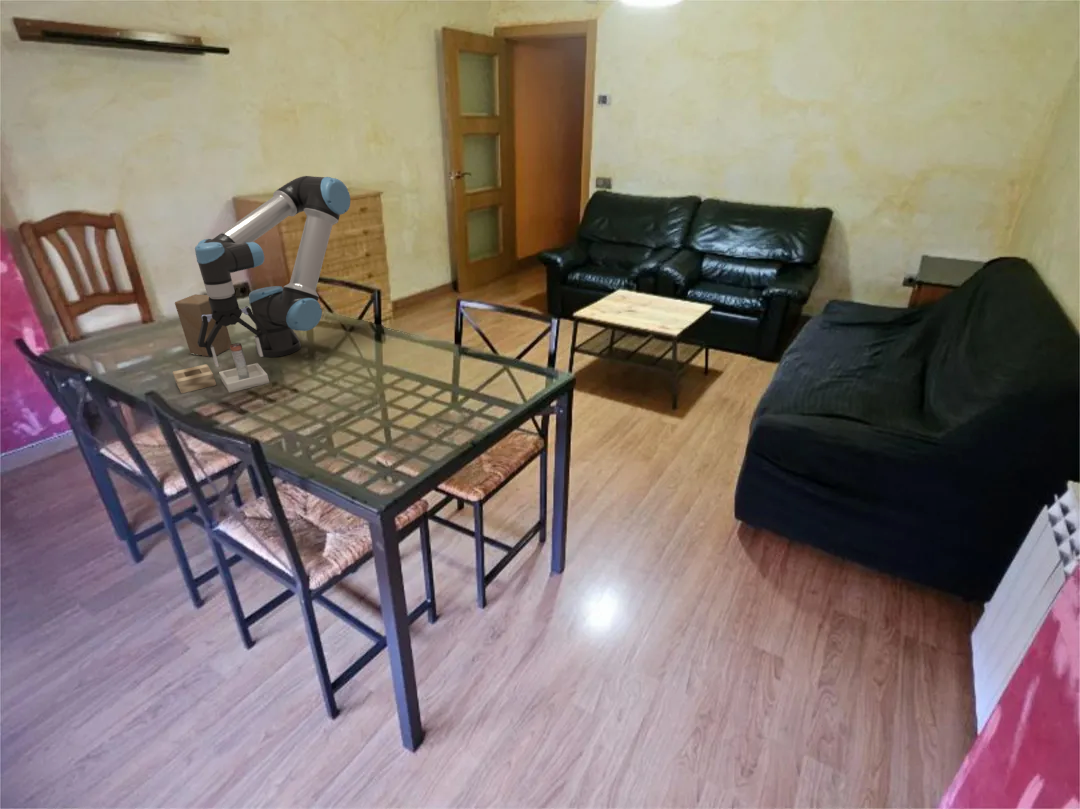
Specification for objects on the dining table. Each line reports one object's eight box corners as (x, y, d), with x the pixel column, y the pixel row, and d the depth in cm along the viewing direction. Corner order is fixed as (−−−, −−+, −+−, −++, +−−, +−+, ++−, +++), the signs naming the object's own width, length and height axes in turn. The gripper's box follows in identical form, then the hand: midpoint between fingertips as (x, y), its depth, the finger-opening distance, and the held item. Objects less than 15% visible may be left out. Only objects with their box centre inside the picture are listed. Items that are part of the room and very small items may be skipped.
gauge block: (210, 374, 189) (206, 364, 188) (216, 385, 182) (213, 373, 181) (176, 382, 184) (172, 371, 182) (181, 393, 177) (177, 382, 175)
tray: (259, 371, 192) (257, 362, 191) (269, 382, 184) (267, 374, 182) (221, 380, 186) (218, 372, 184) (229, 393, 177) (227, 384, 176)
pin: (248, 376, 186) (239, 342, 181) (251, 379, 184) (242, 345, 179) (238, 379, 185) (228, 344, 179) (240, 382, 182) (231, 347, 177)
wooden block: (214, 357, 203) (198, 303, 194) (190, 355, 205) (173, 302, 196) (233, 347, 212) (218, 295, 202) (209, 345, 213) (194, 293, 204)
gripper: (261, 285, 181) (275, 348, 191) (173, 300, 167) (194, 366, 177) (267, 291, 175) (282, 354, 185) (177, 306, 162) (199, 374, 172)
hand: (239, 360), depth 181 cm, fingers open, 12 cm apart
